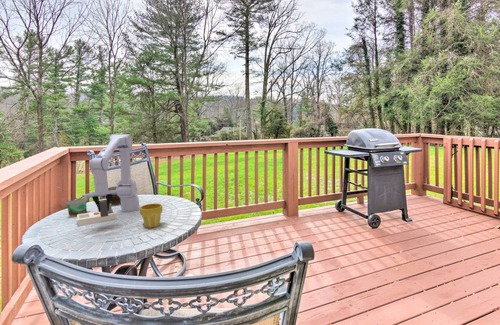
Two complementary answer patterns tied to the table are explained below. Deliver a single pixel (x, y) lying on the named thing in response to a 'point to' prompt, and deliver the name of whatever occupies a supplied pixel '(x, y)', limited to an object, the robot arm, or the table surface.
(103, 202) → the dark grey square prism
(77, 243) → the table surface
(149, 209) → the plant pot
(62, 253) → the table surface
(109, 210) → the charcoal plug
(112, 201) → the ceramic cup
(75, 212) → the food container
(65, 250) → the table surface
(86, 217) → the power strip
